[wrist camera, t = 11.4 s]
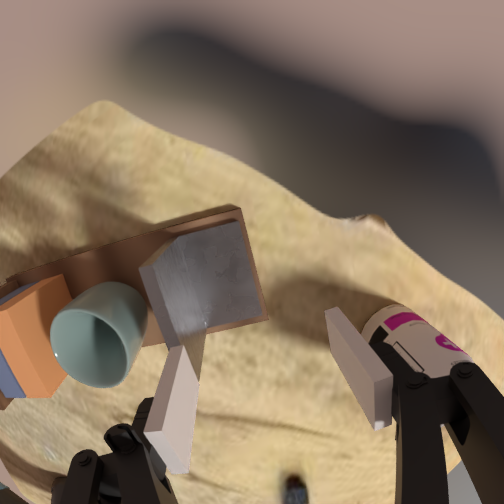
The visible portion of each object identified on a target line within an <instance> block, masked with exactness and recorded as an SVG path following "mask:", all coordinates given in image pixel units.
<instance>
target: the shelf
mask: <svg viewBox="0 0 504 504" xmlns="http://www.w3.org/2000/svg"><path fill="white" fill-rule="evenodd" d="M238 220H239V224H240V228H241V232H242V236H243V240H244V244H245V247H246V251H247V255H248V259H249V263H250V267H251V271H252V275H253V279H254V283H255V287H256V291H257V294H258V298H259V302H260V306H261V310H262V314H263V315H261V316H257V317H253V318H249V319H245V320H241V321H237V322H232V323H228V324H224V325H219V326H215V327H211V328H207V331H206V334H210V333H214V332H219V331H223V330H227V329H232V328H236V327H240V326H244V325H248V324H253V323H257V322H261V321H265V320H269V318H268V314H267V310H266V306H265V302H264V298H263V294H262V290H261V286H260V282H259V278H258V274H257V270H256V266H255V262H254V258H253V254H252V250H251V246H250V242H249V238H248V234H247V230H246V227H245V223H244V219H243V215H242V211H241V208H238V209H234V210H230V211H226V212H222V213H219V214H215V215H211V216H207V217H203V218H200V219H196V220H192V221H188V222H185V223H181V224H177V225H174V226H170V227H167V228H163V229H160V230H156V231H152V232H149V233H146V234H142V235H139V236H135V237H132V238H128V239H125V240H122V241H118V242H115V243H112V244H108V245H105V246H102V247H99V248H95V249H92V250H89V251H86V252H83V253H79V254H76V255H73V256H70V257H67V258H64V259H61V260H58V261H55V262H52V263H49V264H46V265H43V266H40V267H37V268H34V269H31V270H28V271H25V272H22V273H19V274H16V275H14V276H11V277H9V278H7V279H6V281H7V283H6V284H4V285H2V286H0V299H1V298H3V297H4V296H6V295H8V294H9V293H11V292H13V291H14V290H16V289H18V288H19V287H21V286H24V285H28V284H31V283H34V282H37V281H41V280H44V279H47V278H50V277H54V276H57V275H60V274H63V276H64V279H65V282H66V284H67V287H68V290H69V293H70V295H71V298H72V299H74V298H75V297H76V296H77V295H79V294H80V293H82V292H83V291H85V290H86V289H88V288H90V287H91V286H93V285H95V284H98V283H102V282H106V281H117V282H122V283H125V284H128V285H130V286H132V287H133V288H135V289H136V290H137V291H138V292H139V293H140V294H141V295H142V296H143V298H144V300H145V302H146V305H147V309H148V328H147V333H146V336H145V339H144V342H143V344H142V347H145V346H151V345H156V344H161V343H165V341H164V338H163V335H162V333H161V330H160V328H159V325H158V323H157V320H156V317H155V315H154V312H153V309H152V306H151V304H150V301H149V298H148V295H147V292H146V289H145V287H144V284H143V281H142V278H141V275H140V272H139V269H138V268H139V267H140V266H141V265H142V264H143V263H144V262H145V261H146V260H147V259H148V258H149V257H150V256H151V255H153V254H154V253H155V252H156V251H157V250H158V249H159V248H160V247H161V246H162V245H163V244H164V243H165V242H166V241H167V240H169V239H170V238H173V237H177V236H180V235H184V234H188V233H191V232H195V231H199V230H203V229H207V228H210V227H214V226H218V225H222V224H226V223H230V222H234V221H238ZM13 399H14V398H6V397H5V396H4V394H3V392H2V391H1V389H0V410H5V409H6V407H7V406H8V405H9V404H10V403H11V401H12V400H13Z"/></svg>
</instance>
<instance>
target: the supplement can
mask: <svg viewBox="0 0 504 504" xmlns="http://www.w3.org/2000/svg"><path fill="white" fill-rule="evenodd" d="M361 336H362V337H363V338H364V339H365V341H366V342H367V343H368V344H369V345H372V344H375V343H378V342H381V341H383V342H386V343H388V344H390V345H392V347H393V348H394V349H395V350H396V352H398V353H399V354H400V356H402V357H403V359H404V360H405V361H406V362H407V363H408V364H409V365H410V366H411V367H412V368H413V370H414V371H415V372H422V373H425V374H427V375H428V376H430V378H437V377H442V376H447V375H450V369H451V368H452V367H453V366H454V365H455V364H457V363H460V362H472V363H474V362H473V360H472V358H471V357H470V356H469V355H468V354H466V353H465V352H464V351H463V350H461V349H460V348H459V347H458V346H457V345H455V344H454V343H453V342H452V341H450V340H449V339H448V338H447V337H445V336H444V335H443V334H442V333H440V332H439V331H438V330H437V329H435V328H434V327H433V326H431V325H430V324H429V323H428V322H426V321H425V320H424V319H423V318H421V317H420V316H419V315H417V314H416V313H415V312H413V311H412V310H411V309H409V308H407V307H406V306H404V305H394V304H393V305H390V306H387V307H384V308H382V309H381V310H379V311H378V312H376V313H375V314H373V315H372V317H371V318H370V319H369V320H368V322H367V323H366V324H365V326H364V328H363V331H362V333H361ZM440 426H441V427H443V426H444V424H441V425H440Z"/></svg>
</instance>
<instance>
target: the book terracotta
mask: <svg viewBox="0 0 504 504" xmlns="http://www.w3.org/2000/svg"><path fill="white" fill-rule="evenodd" d="M71 300H72V298H71V295H70V293H69V290H68V287H67V284H66V282H65V279H64V276H63V274H60V275H57V276H54V277H50V278H47V279H44V280H41V281H39V282H38V283H36V284H34V285H33V286H31V287H29V288H28V289H26V290H24V291H23V292H21V293H20V294H18V295H16V296H15V297H13V298H12V299H10V300H8V301H7V302H5V303H4V304H2V305H1V306H0V348H1V351H2V353H3V355H4V357H5V359H6V360H7V362H8V364H9V366H10V368H11V370H12V372H13V374H14V375H15V377H16V379H17V381H18V383H19V384H20V386H21V388H22V389H23V391H24V393H25V394H26V396H27V398H51V397H52V395H53V394H54V393H55V391H56V390H57V388H58V387H59V386H60V384H61V383H62V382H63V380H64V379H65V378H66V376H67V375H68V374H67V373H66V372H65V371H64V370H63V369H62V367H61V366H60V365H59V363H58V362H57V360H56V358H55V356H54V354H53V351H52V347H51V342H50V328H51V323H52V321H53V319H54V317H55V316H56V314H57V313H58V312H59V311H60V310H61V309H62V308H63V307H64V306H65V305H66V304H67V303H69V302H70V301H71Z"/></svg>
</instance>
